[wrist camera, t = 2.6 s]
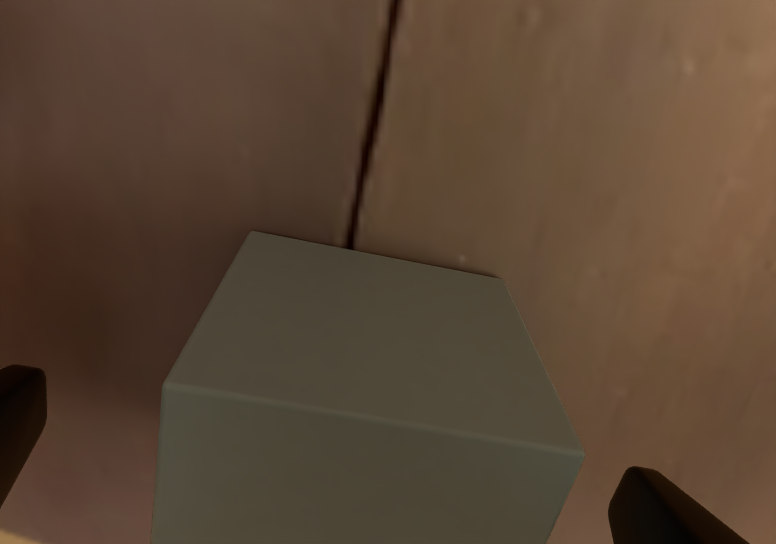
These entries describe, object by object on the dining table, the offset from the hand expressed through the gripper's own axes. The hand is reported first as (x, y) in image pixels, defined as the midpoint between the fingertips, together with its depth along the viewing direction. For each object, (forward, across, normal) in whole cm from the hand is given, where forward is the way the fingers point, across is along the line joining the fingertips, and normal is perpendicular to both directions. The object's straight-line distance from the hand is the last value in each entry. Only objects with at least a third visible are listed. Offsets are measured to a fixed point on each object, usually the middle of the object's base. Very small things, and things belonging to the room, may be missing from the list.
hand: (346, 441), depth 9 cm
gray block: (+2, 0, 0) cm, 2 cm away
